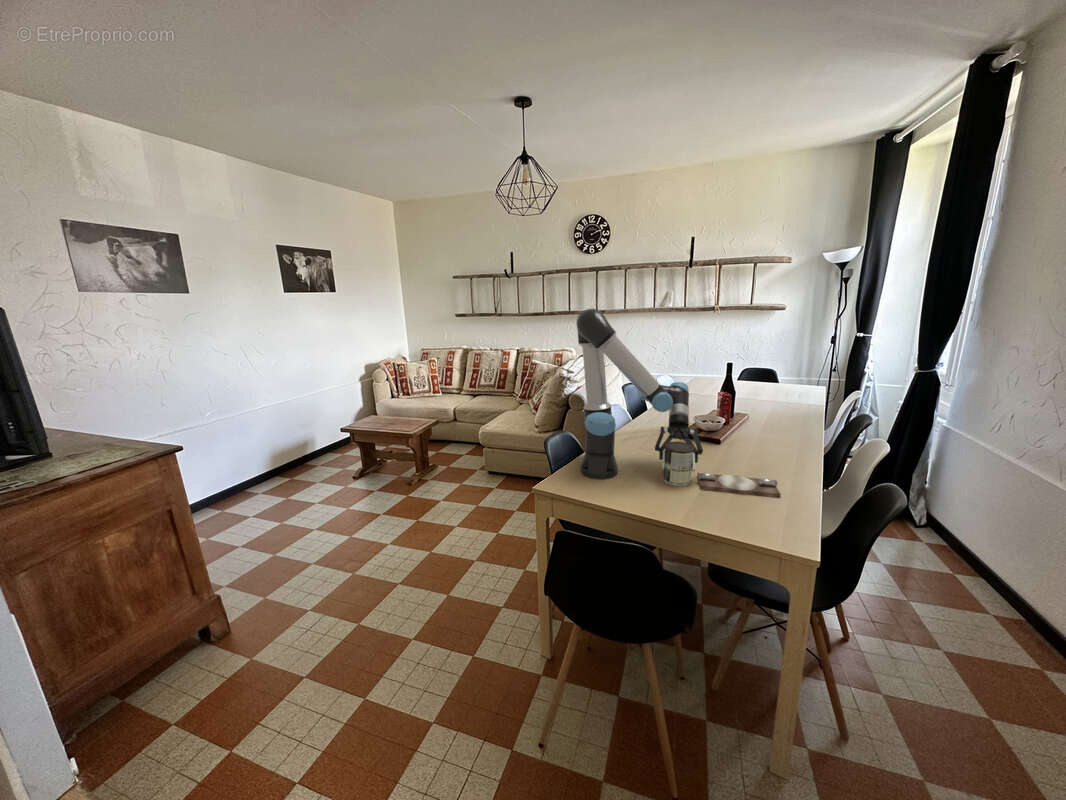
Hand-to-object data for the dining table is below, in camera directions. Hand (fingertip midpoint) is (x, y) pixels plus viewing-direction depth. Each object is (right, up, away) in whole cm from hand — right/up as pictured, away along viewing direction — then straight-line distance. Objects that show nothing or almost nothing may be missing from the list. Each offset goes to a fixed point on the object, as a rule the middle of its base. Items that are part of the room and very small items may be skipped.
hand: (678, 468), depth 154 cm
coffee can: (+1, -5, +4) cm, 7 cm away
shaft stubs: (+21, -5, -2) cm, 22 cm away
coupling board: (+21, -6, -1) cm, 22 cm away
